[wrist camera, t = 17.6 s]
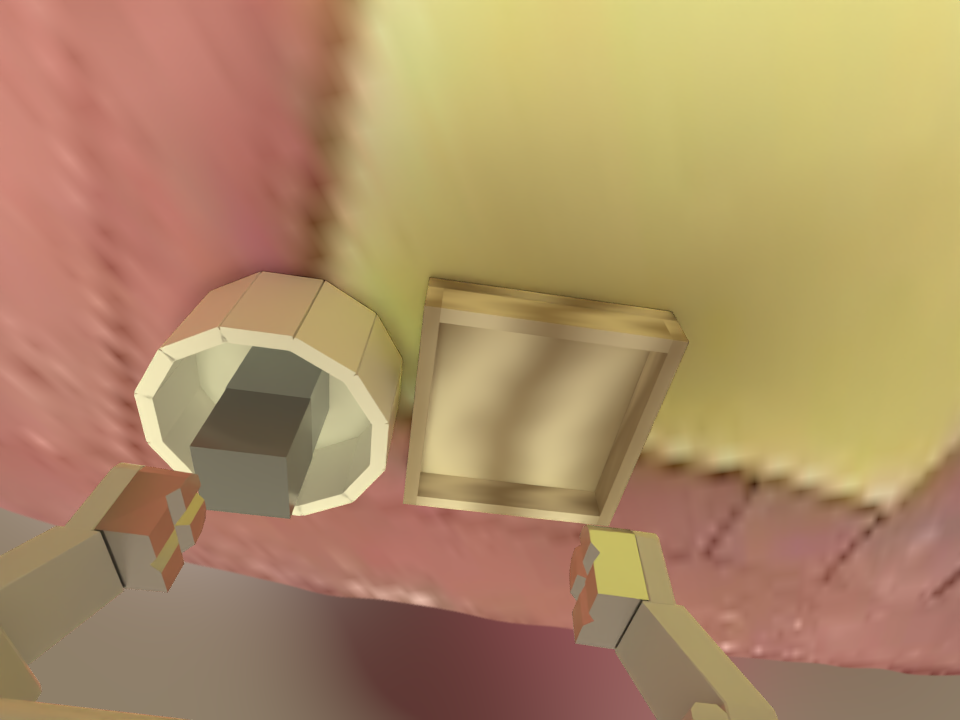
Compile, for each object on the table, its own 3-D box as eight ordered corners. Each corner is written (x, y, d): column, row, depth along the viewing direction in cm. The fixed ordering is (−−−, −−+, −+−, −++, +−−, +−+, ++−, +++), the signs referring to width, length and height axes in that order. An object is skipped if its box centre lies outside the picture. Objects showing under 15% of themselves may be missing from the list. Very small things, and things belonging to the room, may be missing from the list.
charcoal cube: (311, 398, 27) (286, 457, 23) (312, 457, 29) (290, 518, 26) (226, 388, 26) (189, 446, 23) (234, 448, 29) (201, 509, 25)
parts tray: (672, 311, 30) (689, 342, 27) (600, 490, 37) (608, 526, 35) (429, 277, 29) (424, 305, 26) (408, 467, 36) (403, 503, 34)
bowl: (408, 291, 29) (394, 349, 24) (394, 455, 36) (381, 524, 31) (173, 258, 28) (113, 312, 24) (204, 433, 35) (161, 500, 30)
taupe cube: (329, 352, 30) (309, 398, 27) (329, 408, 32) (311, 457, 29) (254, 342, 30) (225, 387, 26) (259, 400, 32) (233, 448, 29)
